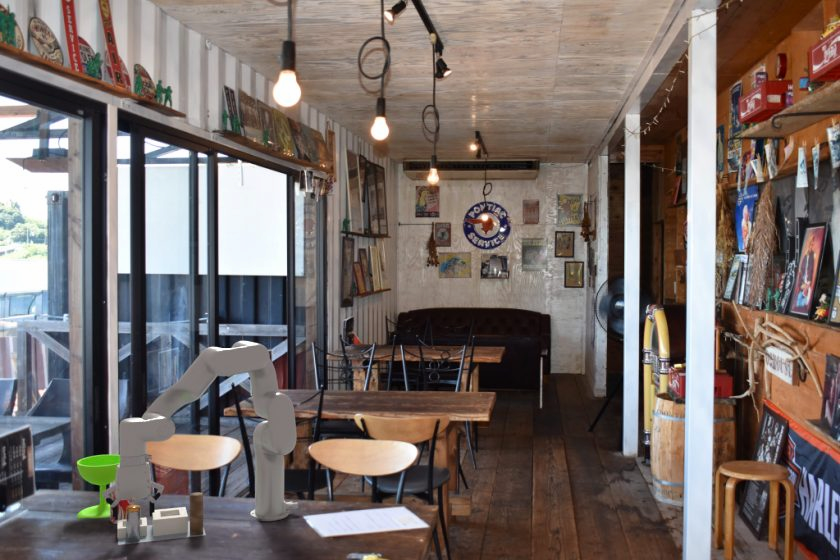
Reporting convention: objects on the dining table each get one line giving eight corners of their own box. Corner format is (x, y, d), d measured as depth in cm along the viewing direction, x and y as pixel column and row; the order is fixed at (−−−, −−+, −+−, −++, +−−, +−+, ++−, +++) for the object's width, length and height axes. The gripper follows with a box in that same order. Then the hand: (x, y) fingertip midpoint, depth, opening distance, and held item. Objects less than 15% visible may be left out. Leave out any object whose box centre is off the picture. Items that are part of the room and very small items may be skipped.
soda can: (125, 527, 244) (125, 490, 244) (105, 526, 246) (105, 488, 246) (137, 520, 251) (138, 483, 251) (118, 519, 253) (118, 482, 253)
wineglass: (110, 503, 269) (111, 452, 269) (138, 512, 260) (138, 459, 259) (66, 515, 256) (67, 461, 256) (94, 525, 247) (94, 469, 246)
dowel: (202, 529, 240) (202, 491, 239) (204, 534, 236) (204, 495, 236) (189, 531, 238) (188, 493, 238) (190, 536, 235) (190, 497, 234)
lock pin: (140, 537, 233) (140, 504, 233) (140, 541, 229) (140, 508, 229) (125, 538, 232) (126, 505, 231) (125, 543, 228) (126, 509, 228)
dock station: (201, 522, 250) (201, 504, 250) (205, 538, 236) (205, 518, 235) (117, 531, 241) (117, 512, 241) (117, 548, 227) (117, 528, 226)
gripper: (163, 454, 237) (163, 509, 237) (102, 459, 230) (102, 516, 231) (164, 460, 230) (164, 517, 230) (101, 466, 223) (102, 524, 224)
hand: (133, 517), depth 230 cm, fingers open, 9 cm apart
